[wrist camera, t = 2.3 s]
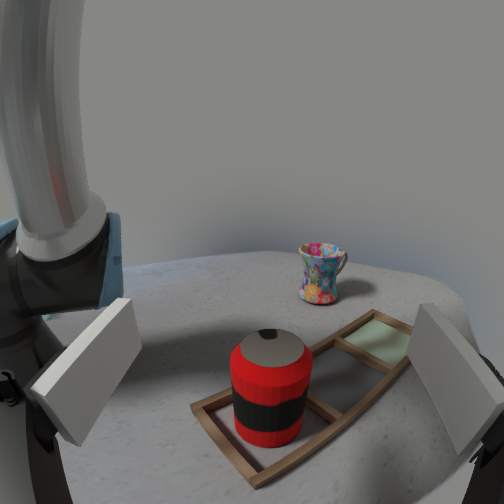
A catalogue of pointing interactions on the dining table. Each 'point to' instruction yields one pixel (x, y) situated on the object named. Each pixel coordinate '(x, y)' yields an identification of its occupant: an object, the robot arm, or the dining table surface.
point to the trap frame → (330, 386)
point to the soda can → (270, 386)
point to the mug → (321, 272)
